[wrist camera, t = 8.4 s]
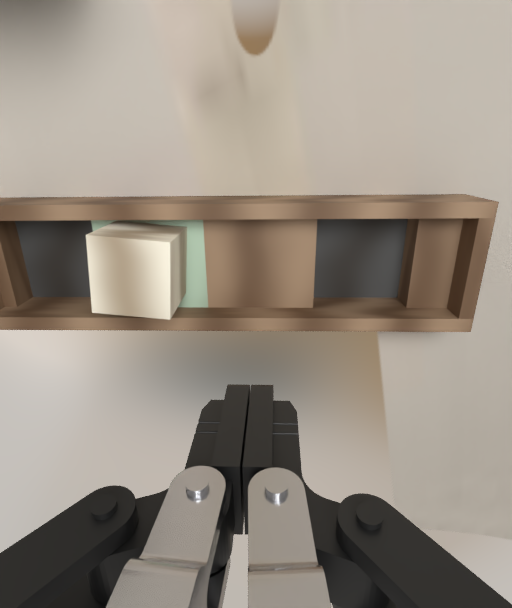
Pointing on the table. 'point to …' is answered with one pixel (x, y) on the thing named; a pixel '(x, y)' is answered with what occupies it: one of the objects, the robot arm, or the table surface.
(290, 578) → the robot arm
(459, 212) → the tray
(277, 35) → the table surface
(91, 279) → the cream cube
